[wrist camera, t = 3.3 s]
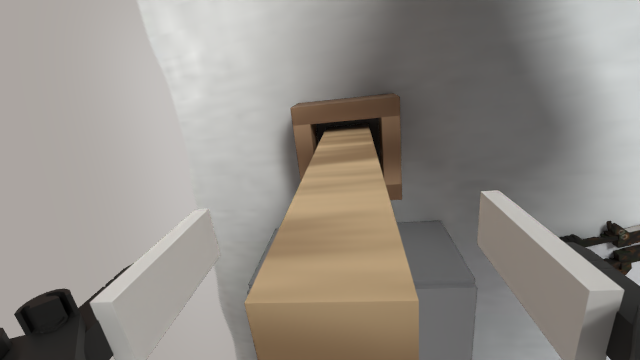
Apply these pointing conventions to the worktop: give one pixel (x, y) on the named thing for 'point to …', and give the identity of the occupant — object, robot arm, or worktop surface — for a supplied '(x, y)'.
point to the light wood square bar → (337, 265)
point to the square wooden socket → (353, 109)
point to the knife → (619, 239)
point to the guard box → (434, 290)
